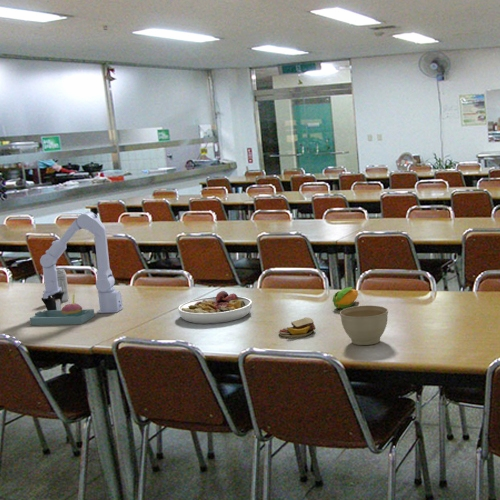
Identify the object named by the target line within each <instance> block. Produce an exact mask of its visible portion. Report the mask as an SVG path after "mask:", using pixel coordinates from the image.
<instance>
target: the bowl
mask: <svg viewBox="0 0 500 500" xmlns="http://www.w3.org/2000/svg"><path fill="white" fill-rule="evenodd" d="M252 305H253V301H252V299H250V298H247V297H244V296H243V297H242V296H238V295H237V294H236V293H233V292H232V293H230V294H229V293H228V292H227V291H225V290H221V291H219V292H217V294H216V296H209V297H202V298H197V299H193V300H189V301H187V302H184V303H182V304H180V305H179V306H178V308H177V309H178V314H179V316H180V317H181V319H183V320H184V321H186V322H188V323H193V324H202V325H207V324H208V325H210V324H223V323H227V322H234V321H237V320H239V319H242V318H244V317H246V316H247V315H248V314H249V313H250V312H251V310H252V308H253V306H252Z"/></svg>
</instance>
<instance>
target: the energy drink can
mask: <svg viewBox="0 0 500 500" xmlns="http://www.w3.org/2000/svg"><path fill="white" fill-rule="evenodd" d="M56 271H57V279H58V287H61V288H62V291H60V292H64V295H63V297H62V302H61V303H65V302H68V301H69V300H70V295H69V289H68V288H69V287H68V278H67V272H66V270H65V269H64V268H59V269H56Z"/></svg>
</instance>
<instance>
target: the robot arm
mask: <svg viewBox="0 0 500 500" xmlns="http://www.w3.org/2000/svg"><path fill="white" fill-rule="evenodd" d="M69 225H70V226H69V227H68V228H67V229H66V231H65V232H64V234H63V235H62V236H61V238H59V239H56V240H53V241H52V242H51V245H50V247H49V248H48V249H47V250H45V254H43V255H41V257H40V259H39V263H40V265H41V266H42V274H43V281H44V290H43V291H42V297H41V301H42V303H43V304H44V306H45V308H46V310H54V300H55V299H60V302H61V303H63V302H62V297H63V295H64V292H60V291H62V288H61V287H58V279H57V271H56V270H57V265H56V264H57V263H58V260H59V259H60V257H62V255H63V254H64V252H66V250H67V243H69V241H70V240H71V239H72V238H73V237H74V236H75V234H76V233H77V232H78V231H80V230H86V231H88V232H90V233H91V234H93V236H94V245H95V253H96V264H97V273H96V281H95V287H96V289H97V294H98V295H97V296H98V305H99V310H97V311H96V314H102V313H103V314H105V313H107V314H108V313H110V314H111V313H118V312H119V311H121V310H123V309H124V306H123V298H122V293H121V291H120V290H115V287H114V285H115V284H116V279H115V277H114V275H113V271H112V270H111V268H110V259H109V258H110V257H109V247H108V237H107V229H106V226H105V225H104V224H103V222H102V221H101V220H100V218H99V216H98V215H97V214H96V213H94V212H93V211H87V212H85V213H81V214H79V216H77V218H76V219H74V220H73V222H72V223H71V224H69Z"/></svg>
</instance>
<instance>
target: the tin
mask: <svg viewBox="0 0 500 500" xmlns="http://www.w3.org/2000/svg"><path fill="white" fill-rule="evenodd" d="M54 310H62V302H60V299H55V300H54Z"/></svg>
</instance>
